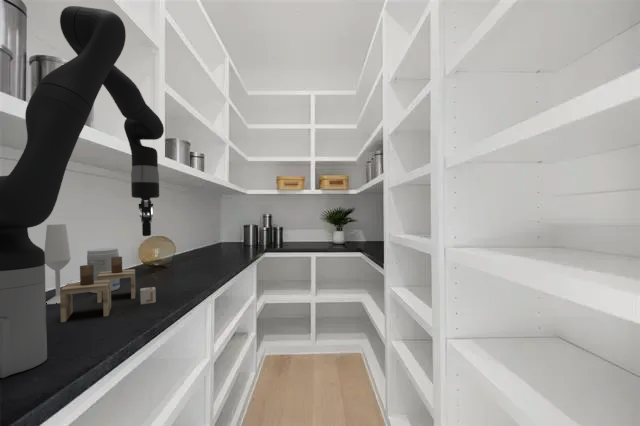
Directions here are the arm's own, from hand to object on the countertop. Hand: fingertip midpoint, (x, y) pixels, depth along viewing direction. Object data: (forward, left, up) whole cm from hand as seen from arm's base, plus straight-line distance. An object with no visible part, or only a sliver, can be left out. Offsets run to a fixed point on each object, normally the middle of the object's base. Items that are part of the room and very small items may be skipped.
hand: (146, 235), depth 104 cm
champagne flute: (+1, +30, -20) cm, 36 cm away
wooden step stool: (-13, +9, -20) cm, 26 cm away
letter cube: (0, 0, -20) cm, 20 cm away
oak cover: (+6, +14, -20) cm, 25 cm away
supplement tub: (+16, +26, -20) cm, 37 cm away
